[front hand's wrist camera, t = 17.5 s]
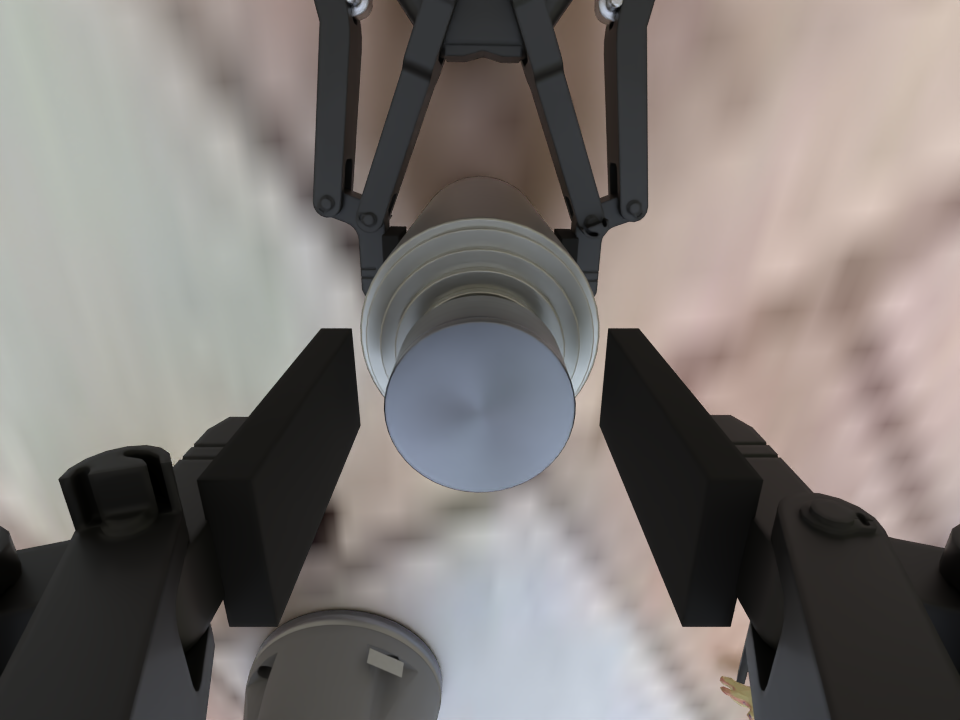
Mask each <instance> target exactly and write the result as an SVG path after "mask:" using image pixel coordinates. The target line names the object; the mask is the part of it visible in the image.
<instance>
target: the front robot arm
mask: <svg viewBox="0 0 960 720" xmlns="http://www.w3.org/2000/svg"><path fill="white" fill-rule="evenodd" d="M360 426H361V425H360V414H359V403H358V392H357V381H356V370H355V359H354V348H353V337H352V328H321V329H320V331H319V332H318V333H317V334H316V335H315V337H314V338H313V339H312V340H311V342H310V343H309V344H308V345H307V346H306V348H305V349H304V350H303V351H302V352H301V354H300V355H299V356H298V357H297V359H296V360H295V361H294V362H293V363H292V365H291V366H290V367H289V368H288V369H287V371H286V372H285V373H284V374H283V376H282V377H281V378H280V379H279V380H278V382H277V383H276V384H275V385H274V386H273V388H272V389H271V390H270V391H269V393H268V394H267V395H266V396H265V397H264V399H263V400H262V401H261V402H260V403H259V405H258V406H257V407H256V408H255V410H254V411H253V412H252V413H251V414H250V416H249V417H229V418H227V419H225V420H224V421H222V422H220V423H218V424H217V425H215V426H213V427H211V428H210V429H208V430H207V431H206V432H205V433H204V434H203V435H202V436H201V437H200V438H199V440H198V441H197V442H196V443H195V444H194V447H191V448H190V449H189V450H188V451H187V453H186V454H185V455H184V456H183V460H179V461H178V462H177V463H176V464H175V465H174V467H173V466H172V462H171V458H170V454H169V453H168V452H167V451H165V450H164V449H162V448H160V447H154V446H148V445H141V446H127V447H122V448H118V449H113V450H109V451H105V452H103V453H100V454H97V455H95V456H92V457H89V458H87V459H85V460H83V461H81V462H80V463H78V464H76V465H74V466H73V467H71V468H69V469H68V470H67V471H66V472H65V473H64V474H63V475H62V476H61V477H60V478H59V482H60V485H61V488H62V491H63V494H64V497H65V500H66V503H67V506H68V509H69V512H70V515H71V518H72V521H73V524H74V527H75V532H74V534H73V536H72V538H71V540H67V541H63V542H58V543H53V544H48V545H43V546H37V547H32V548H27V549H22V550H17V551H16V549H15V546H14V544H13V541H12V539H11V536H10V533H9V531H7V530H6V529H4V528H3V527H1V526H0V720H206V714H207V706H208V698H209V690H210V681H211V673H212V665H213V657H214V649H215V644H214V638H213V632H212V628H211V624H210V622H211V621H212V619H213V617H214V615H215V613H216V611H217V610H218V608H219V606H220V604H221V602H222V601H223V600H224V605H225V609H226V614H227V618H228V623H229V627H278V624H279V622H280V620H281V617H282V615H283V612H284V610H285V607H286V605H287V603H288V600H289V598H290V595H291V593H292V590H293V588H294V586H295V583H296V581H297V578H298V576H299V573H300V571H301V569H302V566H303V564H304V561H305V559H306V556H307V554H308V552H309V549H310V547H311V544H312V542H313V540H314V537H315V535H316V532H317V530H318V527H319V525H320V523H321V520H322V518H323V515H324V513H325V510H326V508H327V506H328V503H329V501H330V498H331V496H332V493H333V491H334V489H335V486H336V484H337V481H338V479H339V476H340V474H341V472H342V469H343V467H344V464H345V462H346V459H347V457H348V455H349V452H350V450H351V447H352V445H353V442H354V440H355V438H356V435H357V433H358V430H359V428H360ZM600 428H601V430H602V433H603V435H604V438H605V440H606V442H607V445H608V447H609V450H610V452H611V455H612V457H613V459H614V462H615V464H616V467H617V469H618V472H619V474H620V476H621V479H622V481H623V484H624V486H625V489H626V491H627V493H628V496H629V498H630V501H631V503H632V506H633V508H634V510H635V513H636V515H637V518H638V520H639V523H640V525H641V527H642V530H643V532H644V535H645V537H646V539H647V542H648V544H649V547H650V549H651V552H652V554H653V556H654V559H655V561H656V564H657V566H658V569H659V571H660V573H661V576H662V578H663V581H664V583H665V586H666V588H667V590H668V593H669V595H670V598H671V600H672V603H673V605H674V607H675V610H676V612H677V615H678V617H679V620H680V622H681V624H682V627H731V623H732V618H733V614H734V609H735V605H736V600H737V598H738V600H739V601H740V603H741V605H742V607H743V609H744V610H745V612H746V614H747V616H748V617H749V619H750V624H749V628H748V632H747V637H746V641H745V645H744V649H743V653H742V657H741V662H740V666H739V670H738V676H737V682H738V683H742V684H745V680H746V676H747V672H749V680H750V688H751V696H752V704H753V712H754V720H960V524H959V525H958V526H956V527H954V528H953V529H952V531H951V533H950V536H949V539H948V541H947V544H946V546H945V548H941V547H936V546H931V545H926V544H920V543H915V542H910V541H905V540H900V539H895V538H891V537H888V535H887V533H886V531H885V530H884V528H883V527H882V526H881V525H880V523H879V522H878V521H877V520H876V519H875V518H874V517H873V516H871V515H870V514H868V513H867V512H866V511H864V510H863V509H861V508H860V507H858V506H856V505H853V504H851V503H849V502H847V501H844V500H842V499H840V498H836V497H832V496H828V495H824V494H820V493H813V492H812V491H811V490H810V489H809V488H808V486H807V485H806V484H805V483H804V482H803V481H802V480H801V479H800V478H799V477H798V476H797V475H796V474H795V473H794V471H793V470H792V469H791V468H790V467H789V466H788V465H787V464H786V463H785V462H784V461H783V460H782V459H781V458H778V454H777V453H776V452H775V451H774V450H773V449H772V448H771V447H770V446H769V445H766V441H765V440H764V439H763V438H762V437H761V436H760V435H759V434H758V433H757V432H756V431H755V430H754V429H753V428H752V427H751V426H749V425H747V424H745V423H744V422H742V421H740V420H738V419H737V418H735V417H733V416H731V415H710V414H709V413H708V412H707V411H706V410H705V408H704V407H703V406H702V405H701V403H700V402H699V401H698V400H697V399H696V397H695V396H694V395H693V394H692V393H691V391H690V390H689V389H688V388H687V386H686V385H685V384H684V383H683V382H682V380H681V379H680V378H679V377H678V376H677V374H676V373H675V372H674V371H673V369H672V368H671V367H670V366H669V365H668V363H667V362H666V361H665V360H664V359H663V357H662V356H661V355H660V354H659V352H658V351H657V350H656V349H655V348H654V346H653V345H652V344H651V343H650V342H649V340H648V339H647V338H646V337H645V335H644V334H643V333H642V332H641V331H640V329H639V328H608V337H607V348H606V359H605V370H604V381H603V392H602V403H601V414H600ZM441 692H442V676H441V671H440V667H439V665H438V662H437V660H436V658H435V656H434V655H433V653H432V652H431V650H430V649H429V648H428V646H427V645H426V644H425V643H424V642H423V641H422V640H421V639H420V638H419V637H418V636H416V635H415V634H414V633H412V632H411V631H410V630H408V629H407V628H405V627H403V626H402V625H400V624H398V623H396V622H394V621H391V620H389V619H386V618H384V617H380V616H377V615H374V614H370V613H365V612H359V611H350V610H329V611H321V612H315V613H311V614H307V615H304V616H300V617H298V618H295V619H293V620H291V621H289V622H287V623H285V624H283V625H282V626H280V627H279V628H277V629H276V630H275V631H274V632H273V633H271V634H270V635H269V636H268V637H267V639H266V640H265V641H264V643H263V644H262V645H261V647H260V649H259V651H258V653H257V656H256V658H255V660H254V662H253V665H252V667H251V670H250V673H249V677H248V681H247V685H246V692H245V705H244V719H243V720H437V718H438V713H439V709H440V704H441Z"/></svg>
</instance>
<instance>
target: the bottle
mask: <svg viewBox="0 0 960 720" xmlns="http://www.w3.org/2000/svg"><path fill="white" fill-rule="evenodd" d="M479 295H484V296H494V297H499V298H503V299H507V300H509V301H512V302H515V303H517V304H519V305H521V306H523V307H525V308H527V309H528V310H529V311H531V312H532V313H534V314H535V315H536V316H537V317H538V318H539V319H540V320H542V321H543V323H544V324H545V325H546V326H547V327H548V329H549V330H550V331H551V333H552V335H553V336H554V338H555V340H556V342H557V344H558V347H559V349H560V352H561V355H562V357H563V360H564V363H565V365H566V368H567V371H568V373H569V376H570V379H571V382H572V385H573V389H574V394H575V397H576V396H577V395H578V394H579V392H580V391H581V389H582V387H583V386H584V384H585V382H586V381H587V379H588V377H589V374H590V372H591V370H592V368H593V365H594V361H595V358H596V354H597V350H598V342H599V317H598V310H597V305H596V302H595V298H594V295H593V292H592V290H591V287H590V285H589V283H588V281H587V279H586V277H585V275H584V274H583V272H582V271H581V269H580V267H579V266H578V264H577V263H576V262H575V261H574V259H573V258H572V257H571V255H570V254H569V253H568V251H567V250H566V249H565V247H564V246H563V245H562V243H561V242H560V241H559V239H558V238H557V237H556V235H555V234H554V233H553V231H552V230H551V229H550V227H549V226H548V225H547V224H546V222H545V221H544V220H543V218H542V217H541V216H540V214H539V213H538V212H537V210H536V209H535V208H534V206H533V205H532V204H531V202H530V201H529V200H528V199H527V198H526V196H525V195H524V194H523V193H521V192H520V191H519V190H518V189H516V188H515V187H514V186H512V185H510V184H508V183H506V182H504V181H502V180H499V179H495V178H490V177H469V178H465V179H461V180H458V181H456V182H453V183H452V184H450V185H448V186H446V187H445V188H443V189H442V190H441V191H439V192H438V193H437V194H436V195H435V196H434V197H433V199H432V200H431V201H430V202H429V204H428V205H427V206H426V208H425V209H424V210H423V212H422V213H421V214H420V215H419V217H418V218H417V219H416V221H415V222H414V223H413V225H412V226H411V227H410V229H409V230H408V231H407V233H406V234H405V235H404V237H403V238H402V239H401V241H400V242H399V243H398V245H397V246H396V247H395V248H394V250H393V251H392V252H391V254H390V255H389V256H388V258H387V259H386V260H385V262H384V263H383V264H382V266H381V267H380V268H379V270H378V272H377V273H376V275H375V277H374V279H373V280H372V282H371V284H370V287H369V289H368V292H367V294H366V297H365V301H364V305H363V309H362V315H361V324H360V331H361V345H362V350H363V356H364V359H365V362H366V365H367V368H368V371H369V373H370V375H371V377H372V379H373V381H374V383H375V385H376V386H377V388H378V389H379V391H380V392H381V394H382V395H383V396H384V398H385V392H386V387H387V384H388V381H389V378H390V375H391V373H392V370H393V367H394V365H395V362H396V359H397V357H398V354H399V351H400V349H401V346H402V343H403V341H404V340H405V338H406V336H407V334H408V333H409V331H410V330H411V328H412V327H413V326H414V325H415V323H416V322H417V321H418V320H419V319H420V318H421V317H422V316H424V315H425V314H426V313H427V312H429V311H430V310H432V309H433V308H435V307H437V306H438V305H441V304H443V303H445V302H447V301H450V300H453V299H457V298H460V297H466V296H479Z"/></svg>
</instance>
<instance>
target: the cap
mask: <svg viewBox="0 0 960 720" xmlns="http://www.w3.org/2000/svg"><path fill="white" fill-rule="evenodd" d="M575 407H576V402H575V394H574V389H573V385H572V382H571V379H570V376H569V373H568V371H567V368H566V365H565V363H564V360H563V357H562V355H561V352H560V349H559V347H558V344H557V342H556V340H555V338H554V336H553V335H552V333H551V331H550V330H549V329H548V327H547V326H546V325H545V324H544V323H543V321H542V320H540V319H539V318H538V317H537V316H536V315H535V314H534V313H532V312H531V311H529V310H528V309H527V308H525V307H523V306H521V305H519V304H517V303H515V302H512V301H509V300H507V299H503V298H499V297H494V296H484V295H479V296H466V297H460V298H457V299H453V300H450V301H447V302H445V303H443V304H441V305H438V306H437V307H435V308H433V309H432V310H430V311H429V312H427V313H426V314H425V315H424V316H422V317H421V318H420V319H419V320H418V321H417V322H416V323H415V325H414V326H413V327H412V328H411V330H410V331H409V333H408V334H407V336H406V338H405V340H404V341H403V343H402V346H401V349H400V351H399V354H398V357H397V359H396V362H395V365H394V367H393V370H392V373H391V375H390V378H389V381H388V384H387V387H386V392H385V398H384V413H385V421H386V425H387V429H388V432H389V435H390V437H391V439H392V442H393V443H394V445H395V447H396V449H397V450H398V452H399V453H400V454H401V456H402V457H403V458H404V459H405V461H406V462H407V463H408V464H409V465H410V466H411V467H412V468H414V469H415V470H416V471H417V472H419V473H420V474H421V475H423V476H424V477H426V478H428V479H430V480H431V481H433V482H435V483H438V484H440V485H442V486H445V487H448V488H452V489H455V490H460V491H466V492H493V491H500V490H504V489H508V488H512V487H515V486H517V485H520V484H522V483H524V482H526V481H528V480H530V479H532V478H534V477H535V476H537V475H538V474H540V473H541V472H542V471H544V470H545V469H546V468H547V467H548V466H549V465H550V464H551V463H552V462H553V461H554V460H555V459H556V458H557V457H558V455H559V454H560V453H561V451H562V450H563V448H564V447H565V445H566V443H567V441H568V439H569V437H570V434H571V431H572V428H573V424H574V419H575Z"/></svg>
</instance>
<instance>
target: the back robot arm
mask: <svg viewBox="0 0 960 720" xmlns="http://www.w3.org/2000/svg"><path fill="white" fill-rule="evenodd" d="M397 1H398V2H399V4H400V5H401V7H402V8H403V10H404V12H405V13H406V15H407V16H408V18H409V19H410V21H411V22H412V24H413V25H414V27H413V30H412V33H411V36H410V39H409V43H408V46H407V49H406V52H405V56H404V60H403V67H402V71H401V74H400V78H399V81H398V84H397V87H396V90H395V93H394V96H393V99H392V103H391V106H390V109H389V112H388V115H387V118H386V121H385V125H384V128H383V131H382V134H381V137H380V140H379V143H378V147H377V150H376V153H375V156H374V159H373V162H372V165H371V169H370V172H369V175H368V178H367V181H366V184H365V187H364V191H363V194H359V193H356V192H354V191H353V181H354V165H355V149H356V133H357V117H358V101H359V86H360V70H361V54H362V34H361V24H360V20H362V19H365V18H367V17H368V16H369V15H370V13H371V11H372V7H373V0H314V2H315V6H316V10H317V13H318V17H319V21H320V27H319V54H318V81H317V108H316V135H315V161H314V188H313V205H314V208H315V210H316V212H317V213H319V214H320V215H321V216H324V217H332V218H335V219H338V220H340V221H343V222H346V223H348V224H350V225H351V226H352V227H353V228H354V229H355V230H356V232H357V234H358V237H359V248H360V263H361V276H362V278H361V279H362V290H363V292H364V294H365V296H366V294H367V292H368V289H369V287H370V284H371V282H372V280H373V279H374V277H375V275H376V273H377V272H378V270H379V268H380V267H381V266H382V264H383V263H384V262H385V260H386V259H387V258H388V256H389V255H390V254H391V252H392V251H393V250H394V248H395V247H396V246H397V245H398V243H399V242H400V241H401V239H402V238H403V237H404V235H405V234H406V227H398V226H391V227H390V225H389V220H390V218H391V217H392V215H391V213H392V210H393V207H394V204H395V201H396V198H397V196H398V193H399V190H400V187H401V184H402V181H403V178H404V175H405V172H406V169H407V166H408V163H409V160H410V157H411V155H412V152H413V149H414V146H415V143H416V140H417V137H418V134H419V131H420V128H421V125H422V122H423V119H424V116H425V114H426V111H427V108H428V105H429V102H430V99H431V96H432V93H433V90H434V87H435V85H436V83H437V81H438V78H439V76H440V73H441V70H442V67H443V64H444V61H445V59H446V60H447V62H467V61H471V60H474V59H478V58H481V57H485V58H488V59H491V60H494V61H497V62H500V63H519V61H520V60H521V63H522V67H523V70H524V73H525V76H526V79H527V82H528V84H529V86H530V89H531V92H532V95H533V99H534V102H535V105H536V108H537V111H538V115H539V118H540V121H541V124H542V128H543V131H544V134H545V137H546V141H547V144H548V147H549V150H550V154H551V157H552V160H553V163H554V167H555V170H556V173H557V176H558V180H559V183H560V186H561V189H562V193H563V196H564V199H565V202H566V206H567V209H568V212H569V215H570V219H571V221H572V223H571V230H570V229H554V234H555V235H556V237H557V238H558V239H559V241H560V242H561V243H562V245H563V246H564V247H565V249H566V250H567V251H568V253H569V254H570V255H571V257H572V258H573V259H574V261H575V262H576V263H577V264H578V266H579V267H580V269H581V271H582V272H583V274H584V275H585V277H586V279H587V281H588V283H589V285H590V287H591V290H592V292H593V295H594V297H595V295H596V293H597V282H598V281H597V280H598V271H599V261H600V251H601V242H602V238H603V236H604V235H605V234H606V233H607V231H608V230H609V229H611V228H613V227H615V226H618V225H621V224H624V223H626V222H636V221H639V220H641V219H642V218H643V217H644V216H645V214H646V213H647V209H648V131H647V25H648V22H649V18H650V15H651V12H652V8H653V5H654V2H655V0H595V10H594V11H595V15H596V17H597V19H598V20H599V21H600V22H601V23H603V24H606V25H607V26H606V31H605V39H604V73H605V104H606V134H607V165H608V195H607V196H604V197H601V198H599V194H598V191H597V187H596V184H595V180H594V177H593V173H592V170H591V166H590V163H589V159H588V156H587V152H586V149H585V145H584V142H583V138H582V135H581V131H580V128H579V124H578V120H577V117H576V113H575V110H574V106H573V103H572V99H571V96H570V92H569V89H568V85H567V82H566V78H565V75H564V70H563V62H562V57H561V53H560V50H559V46H558V43H557V39H556V36H555V32H554V29H553V28H554V26H555V25H556V23H557V22H558V20H559V19H560V18H561V16H562V15H563V13H564V12H565V10H566V9H567V7H568V6H569V5H570V3H571V2H572V0H397Z"/></svg>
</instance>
